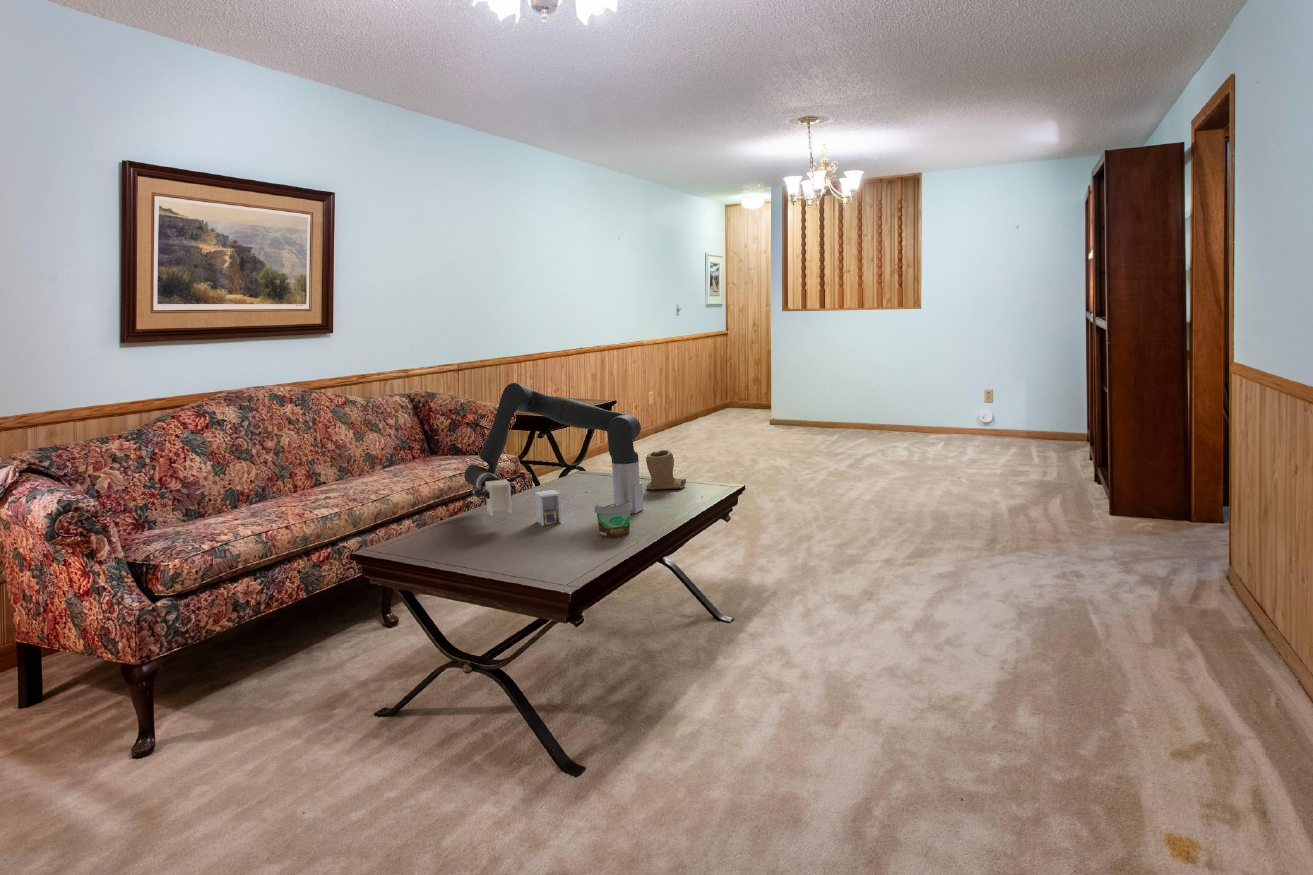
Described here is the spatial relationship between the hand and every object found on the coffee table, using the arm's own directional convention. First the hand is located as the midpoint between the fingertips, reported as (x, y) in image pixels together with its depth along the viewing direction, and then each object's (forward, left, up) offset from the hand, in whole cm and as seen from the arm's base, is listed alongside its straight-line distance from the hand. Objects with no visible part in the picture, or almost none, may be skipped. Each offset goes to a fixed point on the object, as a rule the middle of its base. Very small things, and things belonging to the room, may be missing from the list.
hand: (499, 494), depth 272 cm
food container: (-40, -4, -12) cm, 42 cm away
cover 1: (+2, -2, -6) cm, 7 cm away
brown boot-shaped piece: (-26, -70, -12) cm, 76 cm away
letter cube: (-9, -13, -12) cm, 20 cm away
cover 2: (-9, -13, -12) cm, 20 cm away
